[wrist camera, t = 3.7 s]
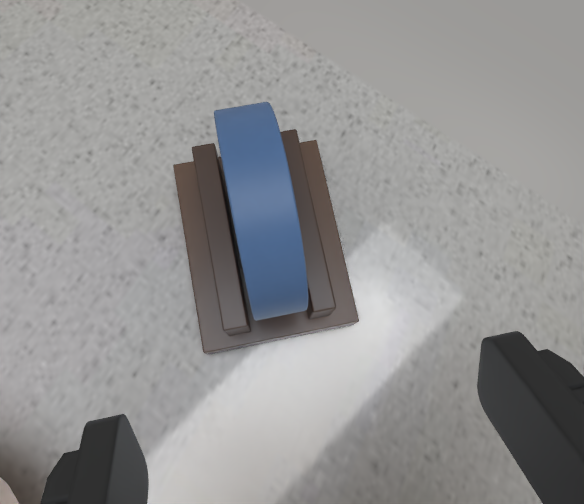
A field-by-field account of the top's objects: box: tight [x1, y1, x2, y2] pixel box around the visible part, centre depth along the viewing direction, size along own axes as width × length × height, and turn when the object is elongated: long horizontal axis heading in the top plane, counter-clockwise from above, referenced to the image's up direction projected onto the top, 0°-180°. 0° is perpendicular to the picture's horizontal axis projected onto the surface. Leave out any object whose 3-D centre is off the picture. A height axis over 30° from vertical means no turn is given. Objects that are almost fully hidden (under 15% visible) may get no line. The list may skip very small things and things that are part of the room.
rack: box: [174, 129, 359, 354], centre depth 23 cm, size 7×9×4 cm
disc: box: [214, 102, 308, 321], centre depth 19 cm, size 2×8×8 cm, turn 11°
